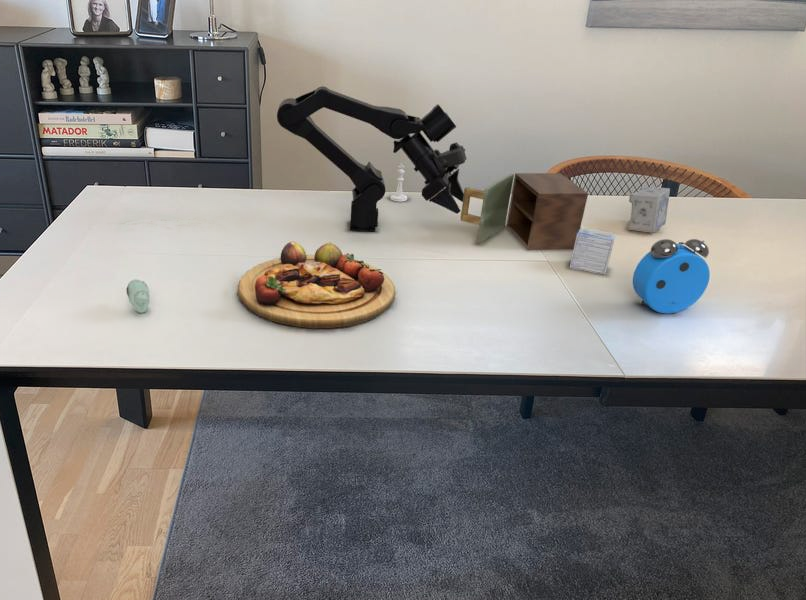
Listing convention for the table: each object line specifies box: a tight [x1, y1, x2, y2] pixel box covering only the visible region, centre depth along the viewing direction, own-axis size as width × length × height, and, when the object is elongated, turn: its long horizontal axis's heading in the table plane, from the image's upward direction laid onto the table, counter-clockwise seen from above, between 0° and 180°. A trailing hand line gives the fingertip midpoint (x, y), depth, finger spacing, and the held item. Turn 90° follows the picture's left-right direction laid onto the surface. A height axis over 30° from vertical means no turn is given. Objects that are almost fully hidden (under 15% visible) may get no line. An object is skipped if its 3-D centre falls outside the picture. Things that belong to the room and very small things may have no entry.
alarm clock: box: [632, 238, 711, 315], centre depth 140 cm, size 13×6×15 cm, turn 97°
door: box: [460, 173, 515, 245], centre depth 174 cm, size 7×16×14 cm, turn 146°
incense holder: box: [627, 186, 671, 233], centre depth 182 cm, size 10×8×10 cm
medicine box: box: [569, 226, 616, 275], centre depth 158 cm, size 8×4×9 cm, turn 65°
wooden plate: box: [237, 240, 396, 329], centre depth 141 cm, size 32×32×8 cm
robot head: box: [126, 279, 150, 314], centre depth 132 cm, size 8×4×7 cm, turn 17°
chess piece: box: [389, 162, 408, 203], centre depth 195 cm, size 5×5×10 cm
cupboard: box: [505, 172, 589, 251], centre depth 173 cm, size 12×16×14 cm
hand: (461, 206), depth 171 cm, fingers open, 9 cm apart
